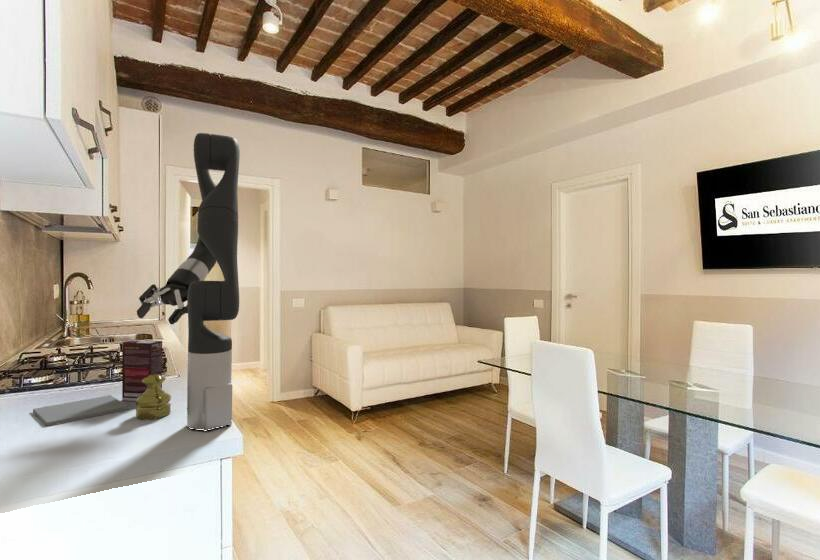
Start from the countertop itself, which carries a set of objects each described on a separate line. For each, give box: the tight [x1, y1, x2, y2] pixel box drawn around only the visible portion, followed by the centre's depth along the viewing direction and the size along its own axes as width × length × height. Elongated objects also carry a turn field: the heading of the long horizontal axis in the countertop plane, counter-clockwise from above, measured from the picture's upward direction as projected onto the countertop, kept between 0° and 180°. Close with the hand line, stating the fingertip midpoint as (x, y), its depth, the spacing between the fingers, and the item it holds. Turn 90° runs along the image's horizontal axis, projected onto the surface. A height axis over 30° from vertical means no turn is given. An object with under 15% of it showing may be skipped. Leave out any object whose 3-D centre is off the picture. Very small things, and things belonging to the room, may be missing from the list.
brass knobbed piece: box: [135, 374, 172, 420], centre depth 104 cm, size 7×7×10 cm
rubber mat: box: [32, 394, 129, 427], centre depth 106 cm, size 14×16×1 cm
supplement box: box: [121, 339, 163, 402], centre depth 116 cm, size 9×5×16 cm, turn 84°
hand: (154, 319), depth 110 cm, fingers open, 8 cm apart
